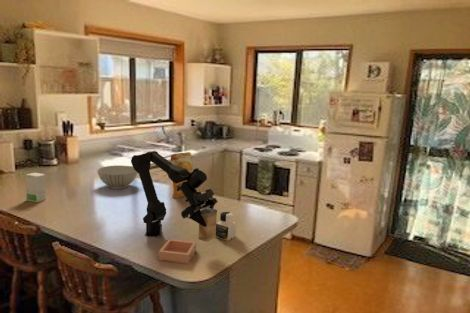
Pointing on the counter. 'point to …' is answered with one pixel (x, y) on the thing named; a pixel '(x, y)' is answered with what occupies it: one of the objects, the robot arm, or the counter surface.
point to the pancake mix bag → (182, 161)
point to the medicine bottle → (226, 226)
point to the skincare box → (35, 187)
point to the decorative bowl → (117, 176)
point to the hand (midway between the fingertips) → (210, 224)
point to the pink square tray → (177, 251)
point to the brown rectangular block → (208, 224)
